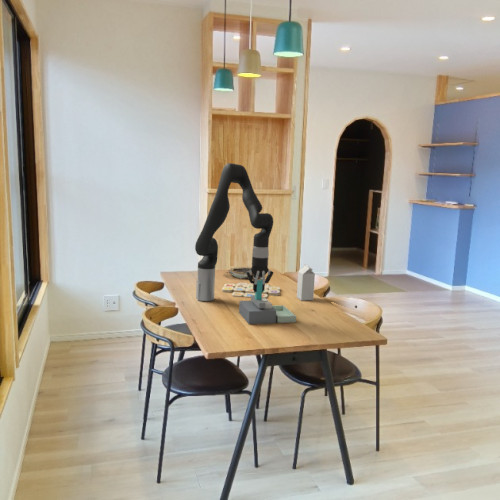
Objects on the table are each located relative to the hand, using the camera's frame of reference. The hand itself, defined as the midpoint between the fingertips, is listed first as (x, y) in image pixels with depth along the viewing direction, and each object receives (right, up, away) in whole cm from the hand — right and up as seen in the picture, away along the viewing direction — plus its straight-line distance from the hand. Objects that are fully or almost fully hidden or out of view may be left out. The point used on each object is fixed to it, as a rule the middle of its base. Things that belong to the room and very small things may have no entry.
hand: (258, 291), depth 233 cm
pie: (-8, +2, +92) cm, 92 cm away
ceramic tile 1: (+4, -7, -1) cm, 8 cm away
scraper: (0, -6, +1) cm, 6 cm away
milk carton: (+26, -8, +41) cm, 49 cm away
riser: (-1, -13, +2) cm, 13 cm away
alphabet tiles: (-3, -5, +54) cm, 54 cm away
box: (+11, -13, +5) cm, 17 cm away
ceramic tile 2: (+2, -6, +5) cm, 8 cm away
